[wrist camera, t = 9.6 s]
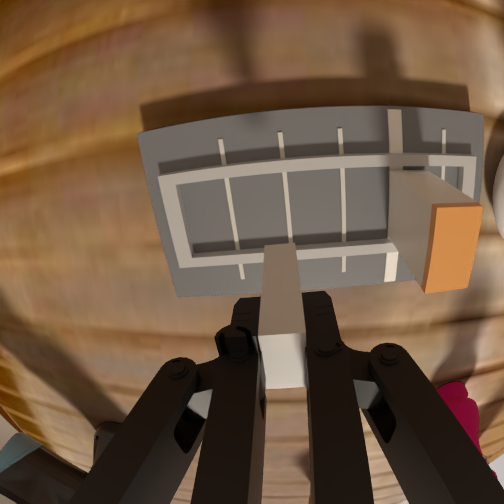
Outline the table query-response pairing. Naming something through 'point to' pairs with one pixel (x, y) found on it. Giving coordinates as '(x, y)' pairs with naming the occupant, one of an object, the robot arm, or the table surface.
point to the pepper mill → (463, 410)
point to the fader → (433, 229)
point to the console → (297, 190)
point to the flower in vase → (499, 197)
